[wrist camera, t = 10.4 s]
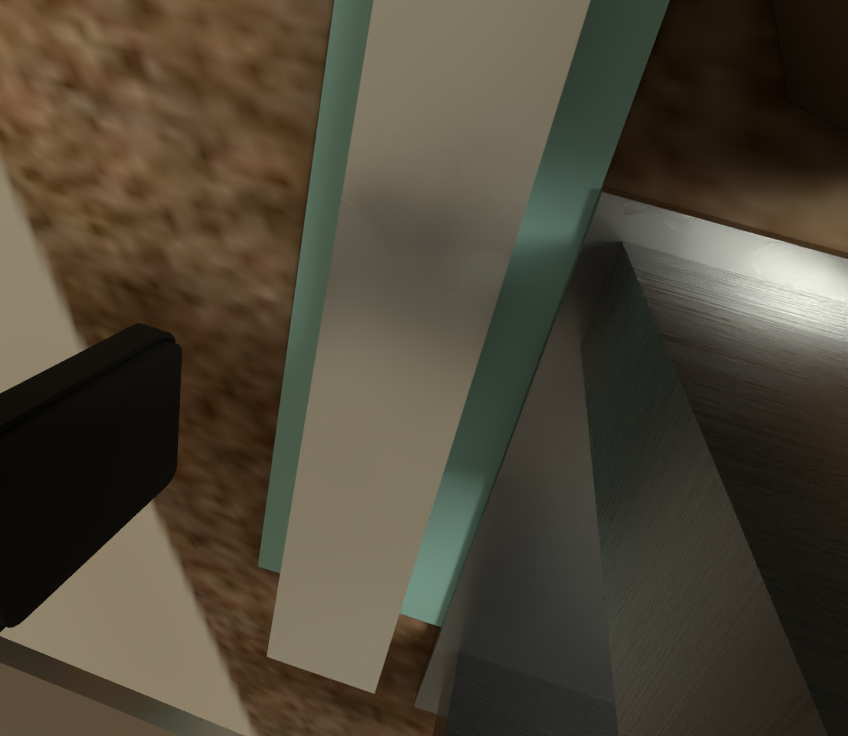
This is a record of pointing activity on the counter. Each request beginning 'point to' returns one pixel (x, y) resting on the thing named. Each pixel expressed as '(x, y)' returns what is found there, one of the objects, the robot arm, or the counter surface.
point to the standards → (666, 499)
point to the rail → (410, 303)
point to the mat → (520, 292)
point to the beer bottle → (815, 55)
